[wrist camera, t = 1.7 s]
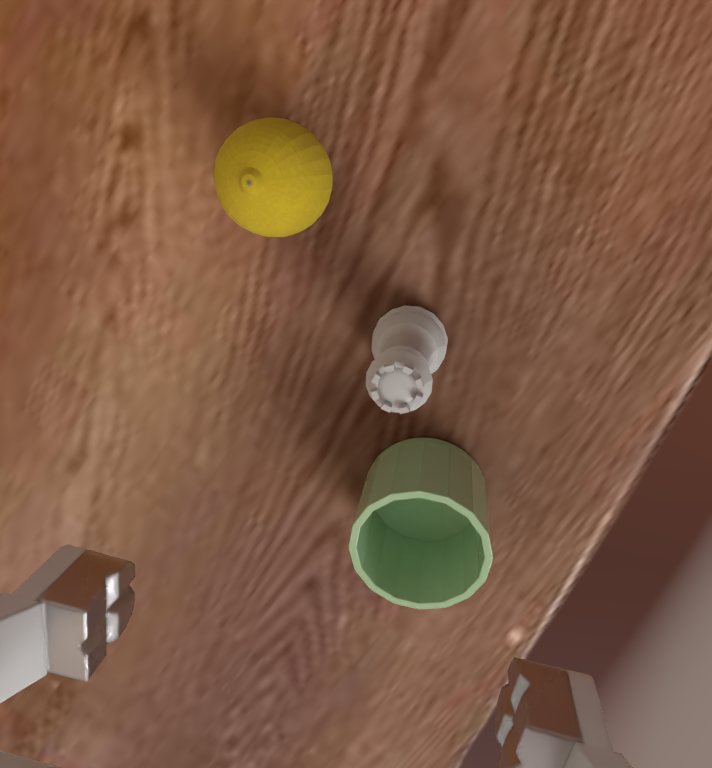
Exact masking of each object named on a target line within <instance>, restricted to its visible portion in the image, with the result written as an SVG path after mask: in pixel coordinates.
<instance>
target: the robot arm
mask: <svg viewBox="0 0 712 768" xmlns="http://www.w3.org/2000/svg"><path fill="white" fill-rule="evenodd" d="M134 577H135V564H133V563H132V562H131V561H127V560H123V559H120V558H116V557H113V556H109V555H105V554H102V553H98V552H95V551H91V550H85V549H82V548H78V547H75V546H71V545H66V546H63V547H61V548H59V549H58V550H57V551H56V552H55V553H54V554H53V555H52V556H51V557H50V558H49V559H48V560H47V561H46V562H45V563H44V564H43V565H42V566H41V567H40V568H39V569H37V570H36V571H35V572H34V573H33V574H32V575H31V576H30V577H29V578H28V579H27V580H26V581H25V582H24V583H23V584H22V585H21V586H20V587H19V588H18V589H17V590H16V591H14V592H13V593H12V594H9V593H3V594H0V703H1V702H3V701H4V700H6V699H8V698H9V697H11V696H13V695H14V694H16V693H17V692H19V691H21V690H22V689H24V688H26V687H27V686H29V685H31V684H32V683H34V682H35V681H37V680H39V679H40V678H42V677H44V676H45V675H47V672H50V673H54V674H58V675H62V676H66V677H71V678H75V679H79V680H83V681H88V680H89V678H90V677H91V676H92V674H93V673H94V671H95V670H96V669H97V667H98V666H99V664H100V663H101V662H102V660H103V659H104V658H105V656H106V644H108V643H110V642H112V641H114V640H116V639H118V638H119V637H120V635H121V634H122V632H123V631H124V629H125V628H126V626H127V624H128V621H129V619H130V617H131V615H132V611H133V607H134V599H135V593H134V591H133V590H132V588H131V587H130V585H129V584H130V583H131V581H132V580H133V579H134ZM508 680H509V683H508V684H506V685H505V686H503V687H502V689H501V692H500V695H499V698H498V703H497V709H496V722H495V724H496V725H495V727H496V738H497V740H498V741H499V743H500V744H501V746H502V749H501V752H500V755H499V757H498V768H633V767H632V766H631V765H630V764H629V762H628V761H627V760H626V759H625V758H624V756H623V755H622V754H620V753H617V752H613V748H612V745H611V741H610V738H609V734H608V730H607V727H606V723H605V720H604V716H603V712H602V709H601V705H600V702H599V698H598V694H597V691H596V687H595V683H594V680H593V679H592V677H591V676H590V675H587V674H583V673H578V672H574V671H570V670H566V669H564V670H563V669H561V668H557V667H552V666H548V665H544V664H540V663H536V662H531V661H528V660H524V659H519V658H515V657H514V659H513V660H512V661H511V663H510V666H509V669H508ZM0 768H60V767H57V766H53V765H50V764H47V763H43V762H40V761H36V760H33V759H29V758H26V757H22V756H19V755H15V754H12V753H8V752H5V751H2V750H0Z"/></svg>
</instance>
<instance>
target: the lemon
mask: <svg viewBox="0 0 712 768" xmlns="http://www.w3.org/2000/svg"><path fill="white" fill-rule="evenodd" d="M214 182H215V188H216V193H217V195H218V198H219V200H220V203H221V205H222V207H223V208H224V209H225V211H226V212H227V214H228V215H229V216H230V217H231V218H232V219H233V220H234V221H235V222H236V223H237V224H238V225H240V226H241V227H243V228H245V229H247V230H248V231H250V232H252V233H255V234H259V235H262V236H266V237H285V236H289V235H293V234H296V233H299V232H301V231H303V230H304V229H306V228H308V227H309V226H311V225H312V224H313V223H314V222H315V221H316V220H317V219H318V218H319V217H320V216H321V215H322V213H323V211H324V210H325V208H326V206H327V204H328V202H329V199H330V195H331V191H332V186H333V173H332V168H331V163H330V159H329V157H328V155H327V153H326V151H325V149H324V147H323V145H322V144H321V143H320V141H319V140H318V139H317V138H316V137H315V135H314V134H312V133H311V132H310V131H308V130H307V129H306V128H304V127H303V126H302V125H300V124H298V123H295V122H293V121H290V120H288V119H284V118H274V117H267V118H262V119H256V120H252V121H250V122H248V123H246V124H244V125H242V126H240V127H238V128H237V129H236V130H235V131H234V132H233V133H232V134H231V135H230V136H229V137H228V138H227V139H226V140H225V142H224V143H223V145H222V147H221V148H220V150H219V152H218V155H217V158H216V161H215V166H214Z"/></svg>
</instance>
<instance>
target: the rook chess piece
mask: <svg viewBox="0 0 712 768" xmlns="http://www.w3.org/2000/svg"><path fill="white" fill-rule="evenodd" d="M447 340H448V338H447V335H446V332H445V329H444V325H443V324H442V323H441V322H440V320H439V319H438V318H437V317H436V316H435V315H434V314H433V313H431V312H429V311H427V310H426V309H424V308H422V307H417V306H406V305H405V306H402V307H398V308H395V309H392V310H390V311H389V312H388V313H386V314H385V315H384V316H383V317H382V318H380V319H379V321H378V323H377V325H376V327H375V329H374V331H373V336H372V349H371V350H372V353H373V356H374V359H375V360H374V361H373V362H372V363H371V365H370V367H369V369H368V371H367V373H366V387H367V390H368V393H369V395H370V397H371V398H372V399H373V400H374V402H375V403H376V404H377V405H378V406H380V407H381V409H383V410H385V411H387V412H389V413H390V412H397V413H400V414H403V413H407V412H410V411H413V410H416V409H417V408H419V407H420V406H421V405H423V404H424V403H425V402H426V400H427V399H428V397H429V395H430V394H431V391H432V382H433V379H432V376H431V374H432V373H434V372H435V371H436V370H438V368H439V366H440V364H441V363H442V361H443V359H444V358H445V354H446V349H447Z"/></svg>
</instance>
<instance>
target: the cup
mask: <svg viewBox="0 0 712 768" xmlns="http://www.w3.org/2000/svg"><path fill="white" fill-rule="evenodd" d="M349 551H350V554H351V558H352V562H353V565H354V569H355V571H356V572H357V573H358V574H359V576H360V577H361V578H362V579H363V581H364V582H365V583H366V584H367V586H368V587H369V588H370V589H371V590H373V591H374V592H376V593H377V594H379V595H381V596H382V597H384V598H386V599H387V600H389V601H390V602H392V603H395V604H399V605H403V606H407V607H411V608H415V609H433V608H445V607H449V606H451V605H453V604H456V603H458V602H460V601H463V600H465V599H467V598H469V597H470V596H471V595H472V594H473V593H474V592H475V591H476V590H477V589H478V588H479V587H480V586H481V585H482V584H483V583H484V582H485V581H486V579H487V576H488V573H489V570H490V567H491V563H492V560H493V550H492V539H491V527H490V515H489V504H488V496H487V490H486V483H485V479H484V476H483V474H482V471H481V469H480V468H479V466H478V465H477V463H476V462H475V461H474V460H473V458H472V457H471V456H469V455H468V454H467V453H466V452H465V451H463V450H462V449H461V448H459V447H457V446H455V445H454V444H451V443H449V442H446V441H443V440H439V439H434V438H412V439H407V440H404V441H400V442H398V443H396V444H394V445H392V446H390V447H388V448H387V449H385V450H384V451H383V452H382V453H381V454H380V455H379V456H378V457H377V458H376V459H375V461H374V462H373V464H372V465H371V468H370V470H369V471H368V473H367V477H366V480H365V484H364V487H363V491H362V494H361V498H360V501H359V505H358V508H357V512H356V515H355V519H354V522H353V526H352V531H351V536H350V541H349Z"/></svg>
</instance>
